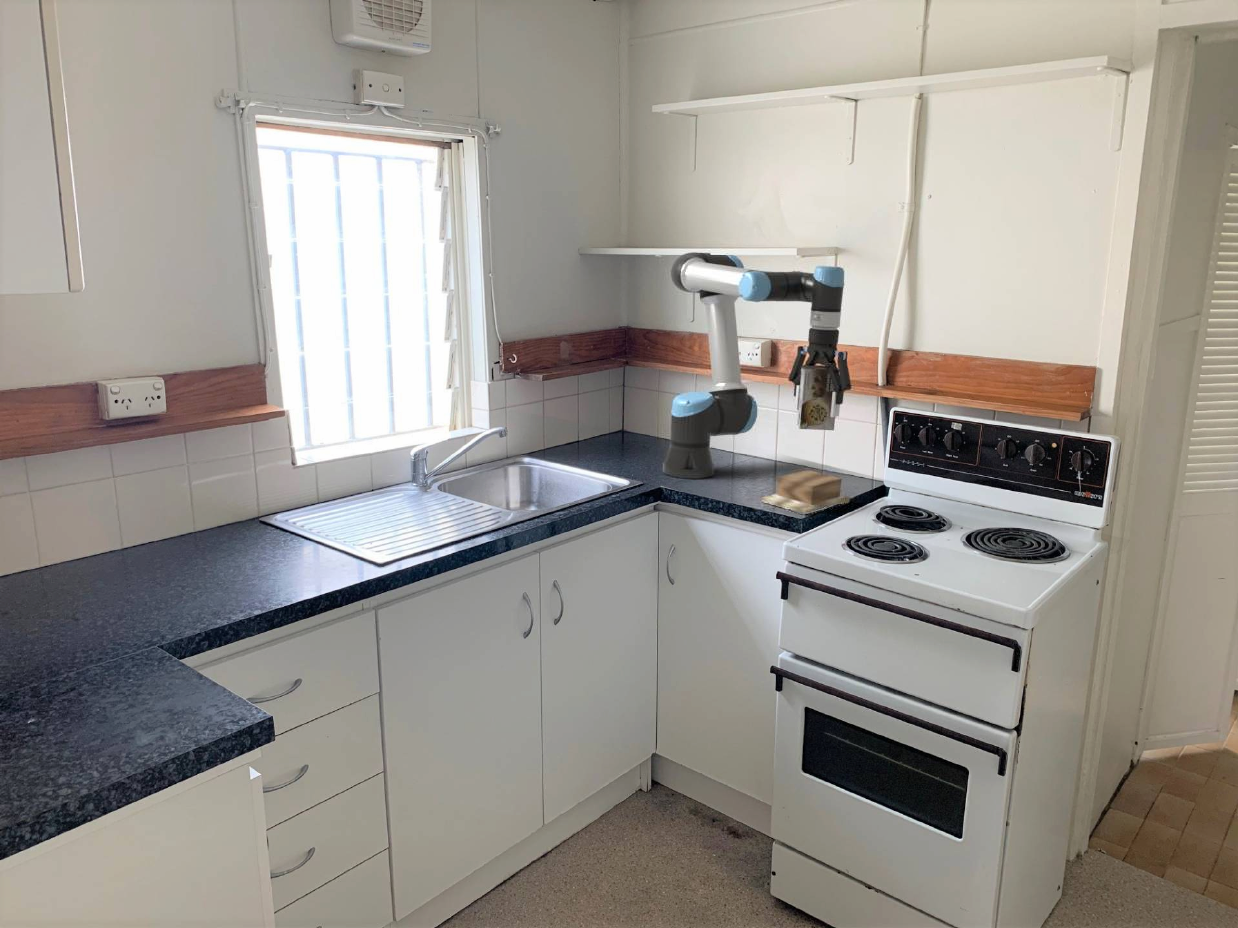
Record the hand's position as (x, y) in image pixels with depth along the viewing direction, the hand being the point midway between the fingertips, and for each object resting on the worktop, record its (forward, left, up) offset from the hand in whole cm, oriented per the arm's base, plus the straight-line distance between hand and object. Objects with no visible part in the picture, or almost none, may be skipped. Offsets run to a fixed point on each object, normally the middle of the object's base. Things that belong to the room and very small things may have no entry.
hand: (816, 412), depth 240 cm
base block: (0, 0, -23) cm, 23 cm away
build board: (0, -1, -24) cm, 24 cm away
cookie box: (0, 0, -4) cm, 4 cm away
